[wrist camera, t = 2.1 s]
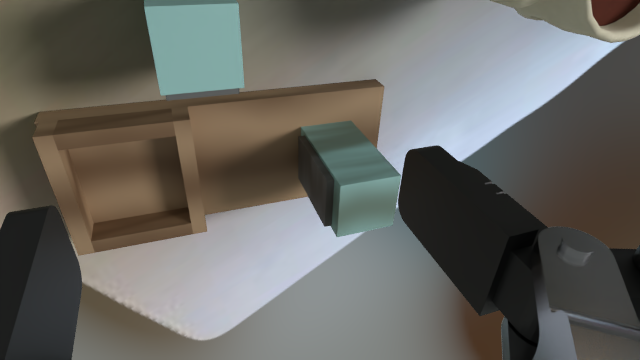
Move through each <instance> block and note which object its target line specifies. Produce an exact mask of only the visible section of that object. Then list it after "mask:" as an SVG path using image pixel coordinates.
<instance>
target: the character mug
mask: <svg viewBox="0 0 640 360" xmlns="http://www.w3.org/2000/svg"><path fill="white" fill-rule="evenodd" d="M490 1H493V2H497V3H500V4H503V5H506V6H509V7H512V8H515V10H516V11H517V13H518V14H520V15H521V16H523V17H525V18H528V19H533V20H544V21H546V22H548V23H549V24H551V25H553V26H556V27H558V28H560V29H562V30H564V31H568V32H572V33H576V34H581V35H586V36H590V37H593V38H596V39H599V40H602V41H606V42H610V43H613V42H621V41H626V40H629V39H632V38H634V37H636V36H638V35H639V34H640V0H490Z"/></svg>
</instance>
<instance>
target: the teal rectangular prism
mask: <svg viewBox="0 0 640 360" xmlns="http://www.w3.org/2000/svg"><path fill="white" fill-rule="evenodd" d="M144 9H145V14H146V20H147V25H148V30H149V36H150V41H151V46H152V51H153V57H154V62H155V67H156V72H157V78H158V83H159V88H160V94H161V95H166V100H167V101H170V100H180V99H190V98H200V97H210V96H221V95H231V94H239V88H244V76H243V62H242V48H241V34H240V20H239V6H238V2H237V1H236V0H144Z"/></svg>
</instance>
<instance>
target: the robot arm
mask: <svg viewBox="0 0 640 360" xmlns="http://www.w3.org/2000/svg"><path fill="white" fill-rule="evenodd" d="M398 206H399V211H400V214H401V217H402V219H403V221H404V222H405V224H406V225H407V226H408V227H409V229H410V230H411V231H412V232H413V234H414V235H415V236H416V237H417V238H418V240H419V241H420V242H421V243H422V245H423V246H424V247H425V248H426V250H427V251H428V252H429V253H430V254H431V256H432V257H433V258H434V260H435V261H436V262H437V263H438V265H439V266H440V267H441V268H442V270H443V271H444V272H445V273H446V274H447V276H448V277H449V278H450V279H451V281H452V282H453V283H454V284H455V286H456V287H457V288H458V289H459V291H460V292H461V293H462V294H463V296H464V297H465V298H466V300H467V301H468V302H469V303H470V304H471V306H472V307H473V308H474V309H475V311H476V312H477V313H478V314H479V316H482V315H485V314H488V313H492V312H495V311H498V310H500V311H501V312H502V313H503V315H504V316H505V317H504V319H503V321H502V324H501V335H502V357H503V360H640V245H639V247H638V248H637V249H609V248H608V247H607V246H606V245H605V244H603V243H602V242H601V241H600V240H598V239H596V238H595V237H593V236H591V235H589V234H587V233H585V232H582V231H579V230H576V229H573V228H568V227H550V228H548V227H547V226H545V225H544V224H543V223H542V222H540V221H539V220H538V219H537V218H536V217H534V216H533V215H532V214H531V213H530V212H528V211H527V210H526V209H524V208H523V207H522V206H521V205H520V204H519V203H517V202H516V201H515V200H514V199H513V198H511V197H510V196H509V195H508V194H504V193H503V190H501V189H500V188H499V187H498V186H497V185H495V184H492V182H491V180H489V179H488V178H487V177H486V176H484V175H483V174H482V173H481V172H480V171H478V170H477V169H475V168H472V167H470V166H468V165H466V164H464V163H462V162H460V161H457V160H456V159H455V158H454V157H453V156H451V155H450V154H449V153H448V152H447V151H445V150H444V149H443V148H442V147H440V146H430V147H424V148H418V149H412V150H409V151H408V152H407V154H406V157H405V162H404V168H403V174H402V180H401V186H400V192H399V198H398ZM81 290H82V277H81V270H80V266H79V262H78V259H77V257H76V254H75V252H74V249H73V247H72V244H71V242H70V239H69V237H68V234H67V231H66V229H65V226H64V224H63V221H62V219H61V216H60V214H59V212H58V210H57V209H56V207H54V206H46V207H39V208H33V209H27V210H20V211H14V212H9V213H8V214H7V215H6V217H5V219H4V222H3V224H2V227H1V229H0V360H71V358H72V352H73V345H74V339H75V332H76V325H77V318H78V311H79V304H80V298H81Z"/></svg>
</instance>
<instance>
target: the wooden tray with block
mask: <svg viewBox="0 0 640 360" xmlns="http://www.w3.org/2000/svg"><path fill="white" fill-rule="evenodd" d="M383 92H384V86H383V85H382V84H381V83H380V82H378V81H377V80H376V79H374V80H364V81H353V82H343V83H333V84H323V85H312V86H302V87H292V88H282V89H271V90H261V91H251V92H241V93H239V94H231V95H221V96H210V97H200V98H190V99H180V100H170V101H167V100H159V101H149V102H138V103H128V104H118V105H108V106H97V107H87V108H77V109H67V110H56V111H46V112H39V113H38V116H37V118H36V120H35V122H34V123H35V126H36V130H35V132H34V134H33V137H32V138H33V141H34V143H35V146H36V148H37V151H38V154H39V156H40V159H41V161H42V164H43V166H44V169H45V171H46V174H47V176H48V179H49V182H50V184H51V187H52V189H53V192H54V194H55V197H56V199H57V202H58V204H59V207H60V210H61V212H62V215H63V217H64V220H65V222H66V225H67V227H68V230H69V232H70V235H71V237H72V240H73V243H74V245H75V248H76V250H77V253H78V255H84V254H90V253H95V252H100V251H106V250H111V249H116V248H122V247H127V246H132V245H137V244H143V243H148V242H153V241H159V240H164V239H169V238H174V237H180V236H185V235H190V234H196V233H201V232H206V231H207V226H206V220H205V215H207V214H212V213H218V212H224V211H229V210H235V209H241V208H246V207H252V206H257V205H263V204H269V203H274V202H280V201H286V200H291V199H297V198H303V197H309V199H310V201H311V202H312V204H313V206H314V208H315V210H316V212H317V214H318V215H319V217H320V219H321V221H322V223H323V225H324V226H331V227H332V229H333V231H334V233H335V234H336V236H337V237H340V236H345V235H350V234H354V233H359V232H364V231H369V230H373V229H378V228H382V227H388V226H392V225H393V219H394V214H395V208H396V202H397V196H398V190H399V184H400V178H401V175H400V174H399V173H398V172H397V171H396V170H395V168H394V167H393V166H392V165H391V164H390V163H389V162H388V161H387V160H386V159H385V157H384V156H383V155H382V154H381V153H380V152H379V151H378V150H377V141H378V133H379V125H380V117H381V109H382V100H383Z"/></svg>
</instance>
